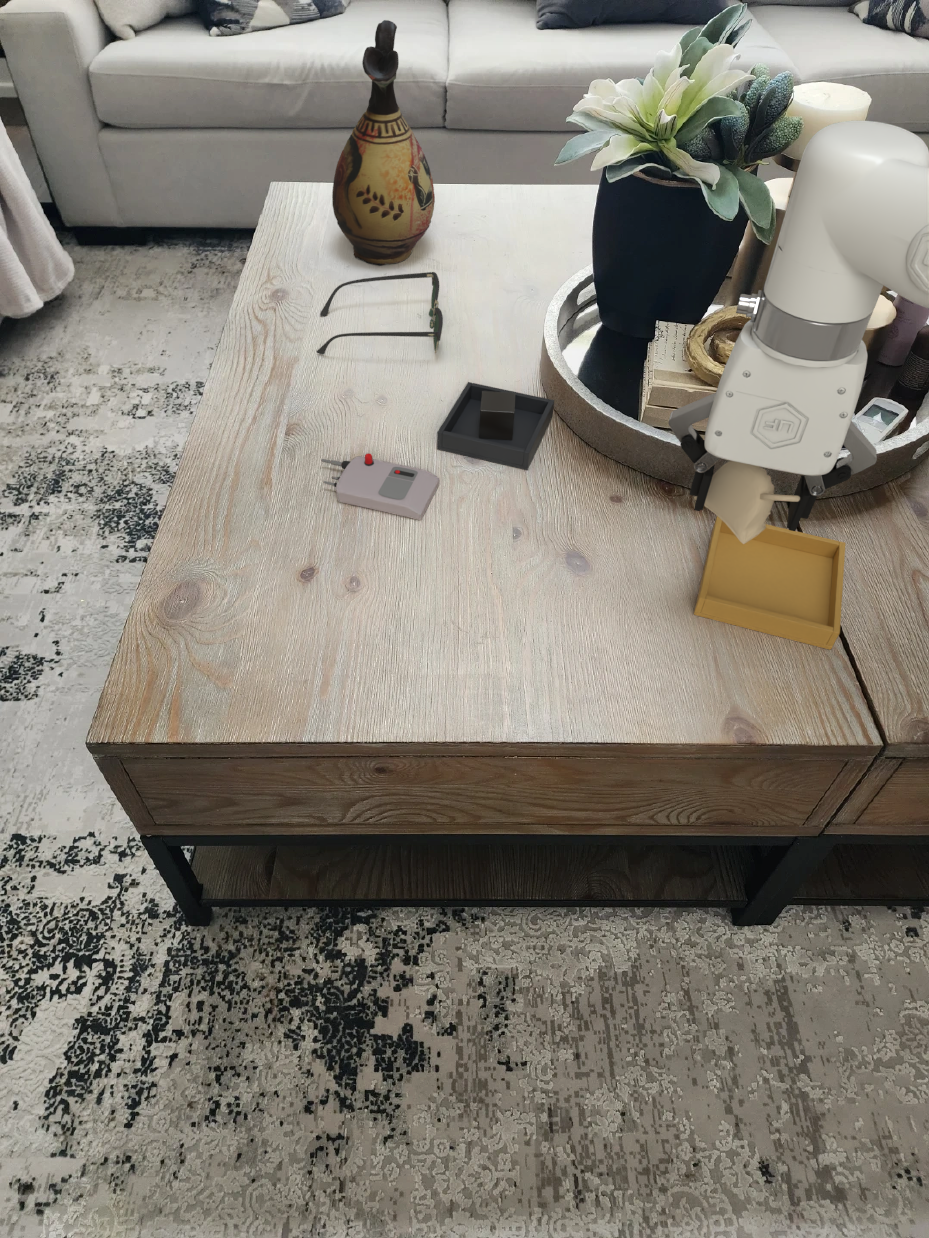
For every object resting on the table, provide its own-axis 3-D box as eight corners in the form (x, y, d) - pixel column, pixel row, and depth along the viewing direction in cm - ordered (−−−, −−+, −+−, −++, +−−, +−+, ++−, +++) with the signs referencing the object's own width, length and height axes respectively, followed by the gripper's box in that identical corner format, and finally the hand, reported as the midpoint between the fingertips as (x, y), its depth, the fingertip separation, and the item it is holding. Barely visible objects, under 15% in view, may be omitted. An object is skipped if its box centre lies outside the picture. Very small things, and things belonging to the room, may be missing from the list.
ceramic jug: (433, 276, 129) (432, 46, 107) (331, 273, 129) (309, 43, 106) (436, 227, 140) (436, 10, 118) (343, 224, 140) (325, 6, 118)
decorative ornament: (727, 485, 78) (743, 437, 74) (789, 541, 73) (809, 492, 69) (692, 498, 76) (705, 449, 72) (752, 555, 71) (770, 507, 67)
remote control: (436, 524, 92) (436, 503, 90) (303, 495, 95) (300, 473, 92) (455, 487, 96) (455, 466, 94) (327, 459, 99) (324, 438, 97)
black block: (513, 420, 104) (515, 392, 101) (512, 440, 101) (514, 412, 98) (480, 418, 104) (482, 390, 101) (479, 438, 101) (480, 410, 98)
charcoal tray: (552, 417, 105) (554, 400, 104) (527, 470, 98) (529, 453, 97) (467, 398, 108) (468, 381, 106) (437, 449, 101) (437, 432, 99)
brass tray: (837, 559, 90) (845, 542, 88) (830, 650, 81) (840, 633, 79) (712, 530, 92) (717, 512, 90) (693, 614, 84) (699, 597, 82)
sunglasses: (321, 305, 123) (317, 271, 119) (438, 303, 124) (438, 270, 120) (315, 367, 112) (311, 333, 108) (443, 365, 113) (444, 331, 109)
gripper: (680, 326, 60) (638, 516, 73) (941, 371, 56) (848, 561, 70) (694, 279, 65) (653, 465, 78) (936, 317, 61) (849, 505, 74)
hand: (745, 509), depth 74 cm, fingers closed on decorative ornament, 7 cm apart
